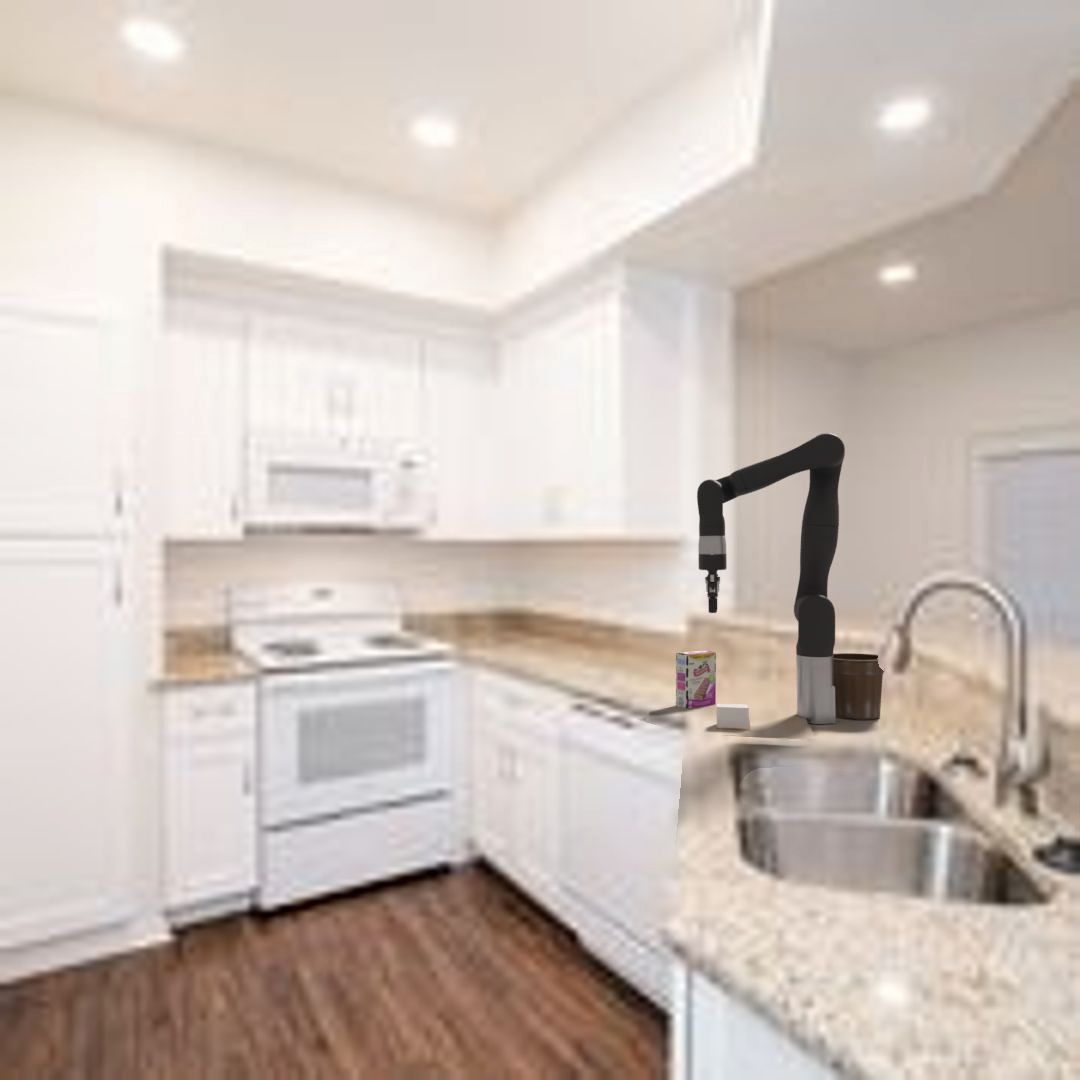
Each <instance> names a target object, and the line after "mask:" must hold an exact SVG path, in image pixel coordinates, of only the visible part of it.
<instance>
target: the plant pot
mask: <svg viewBox="0 0 1080 1080" xmlns="http://www.w3.org/2000/svg"><path fill="white" fill-rule="evenodd" d="M878 655H879V654H871V653H857V652H856V653H855V652H854V653H853V652H852V653H851V652H849V653H848V652H846V653H845V652H844V653H843V652H842V653H840V652H839V653H833V667H834V686H835V715H836V718H841V719H850V718H852V719H854V720H858V721H859V720H861V721H862V720H863V721H868V720H869V721H870V720H876V719H879V717H880V718H881V709H882V708H881V706H882V691H883V678H884V677H883V676H884V673H885V670H884V671H883V670H882V669H881V668H880V667H879V664H878V659H877V658H878Z"/></svg>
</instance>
